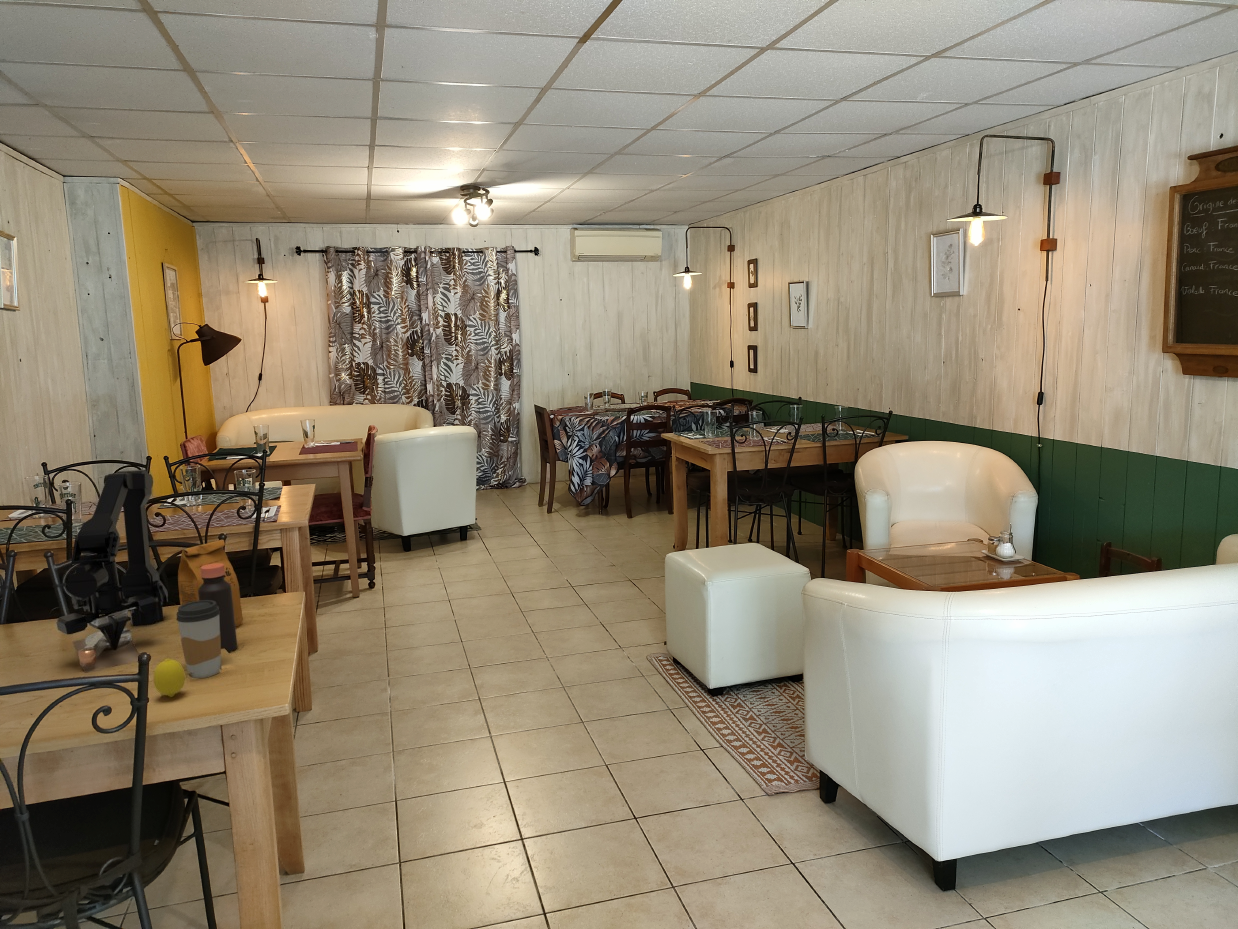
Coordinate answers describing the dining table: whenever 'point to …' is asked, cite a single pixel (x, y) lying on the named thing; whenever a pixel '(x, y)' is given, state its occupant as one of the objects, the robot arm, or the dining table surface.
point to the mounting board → (110, 656)
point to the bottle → (220, 602)
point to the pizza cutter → (99, 646)
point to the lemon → (169, 677)
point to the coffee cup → (200, 637)
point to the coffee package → (192, 574)
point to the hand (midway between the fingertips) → (114, 649)
